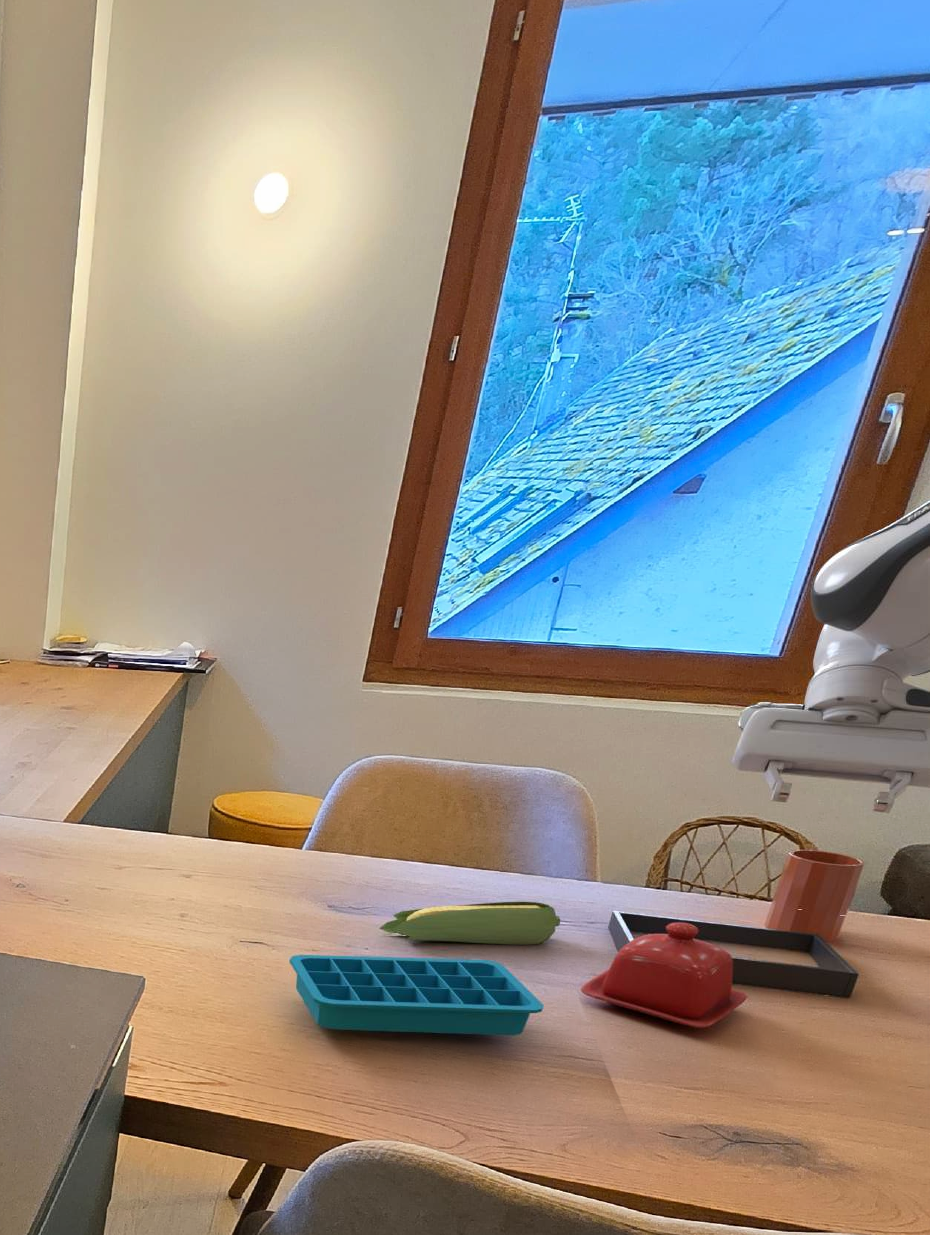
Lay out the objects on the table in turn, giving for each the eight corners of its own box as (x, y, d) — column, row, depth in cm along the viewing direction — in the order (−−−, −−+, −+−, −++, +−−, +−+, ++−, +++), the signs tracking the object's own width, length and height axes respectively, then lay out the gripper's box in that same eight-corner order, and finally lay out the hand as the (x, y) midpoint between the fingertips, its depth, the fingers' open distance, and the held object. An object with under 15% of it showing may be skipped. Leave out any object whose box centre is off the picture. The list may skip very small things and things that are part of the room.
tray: (809, 960, 129) (819, 934, 127) (849, 1001, 118) (859, 973, 116) (605, 935, 136) (612, 910, 135) (624, 972, 125) (632, 945, 124)
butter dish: (570, 1000, 117) (593, 921, 114) (620, 971, 123) (643, 894, 120) (702, 1041, 109) (731, 957, 105) (749, 1008, 115) (778, 926, 111)
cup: (824, 938, 135) (854, 853, 132) (842, 956, 130) (874, 868, 126) (754, 930, 138) (782, 847, 134) (769, 947, 132) (798, 861, 128)
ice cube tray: (541, 1040, 108) (549, 1010, 106) (311, 1032, 110) (317, 1003, 109) (491, 987, 118) (498, 960, 117) (282, 981, 120) (287, 954, 119)
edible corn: (563, 951, 131) (574, 912, 129) (380, 952, 132) (388, 913, 130) (539, 933, 135) (549, 896, 133) (362, 934, 136) (370, 897, 134)
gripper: (749, 685, 145) (727, 778, 141) (971, 698, 134) (954, 799, 130) (737, 717, 150) (715, 808, 146) (950, 733, 139) (933, 830, 135)
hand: (830, 804), depth 138 cm, fingers open, 8 cm apart
